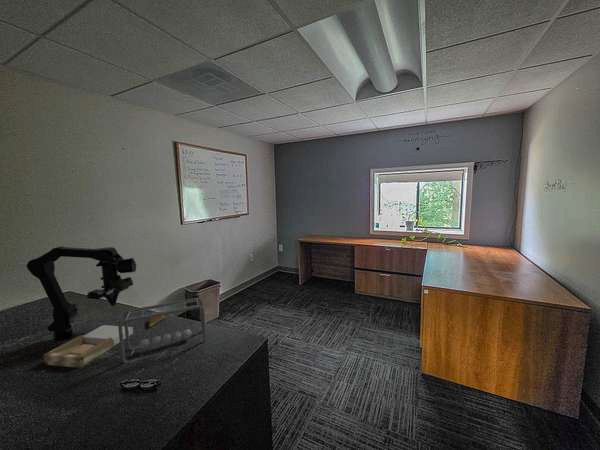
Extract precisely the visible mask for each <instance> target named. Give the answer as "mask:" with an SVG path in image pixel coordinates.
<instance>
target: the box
mask: <svg viewBox="0 0 600 450" xmlns="http://www.w3.org/2000/svg"><path fill="white" fill-rule="evenodd" d="M83 336H84V335H82V334H81V335H78V336H77V337H75V338H72V339H71V340H69V341H67V342H64V343H62V344H61V345H59V346H57V347H55V348H54V349H51V350H50V351H48V352H45V354H43V360H44V365H46V366H55V367H56V366H57V367H63V368H64V367H66V368H79V369H80V368H82V367H83V366H85V365H87V364H88V363H90V362H91V361H93V360H94V359H95V358H97V357H99V356H100V355H102V354H104V353H106V351H108V350H110V349H111V348H113V347H114V346H113V341H112V338H107V339H106V340H104V341H103V342H101V343H99V344H95V346H94V347H93V348H91V349H89V350H88V351H86V352H85V353H83V354H81V355H71V354H70V352H71V351H73V350H75V349H76V348H78V347H80V346H82V345H83V344H85V343H84V338H83Z"/></svg>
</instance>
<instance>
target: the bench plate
mask: <svg viewBox="0 0 600 450" xmlns="http://www.w3.org/2000/svg"><path fill="white" fill-rule="evenodd" d="M122 331H123V341H124V340H126V336H125V326H124V325H122ZM128 332H129V337H130V336H131V335H133V334H134V327H132V326H128ZM83 338H84V344H89V345H98V344H99V343H101V342H103V341H104V340H106V339H107V338H112V341H113V347H114V346H117V345H118V344H120V340H119V330H118V325H109V324H108V325H107V324H102V325H100V326H99V327H97V328H96V329H93V330H91V331H89V332H88V333H86V334H84V335H83Z"/></svg>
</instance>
